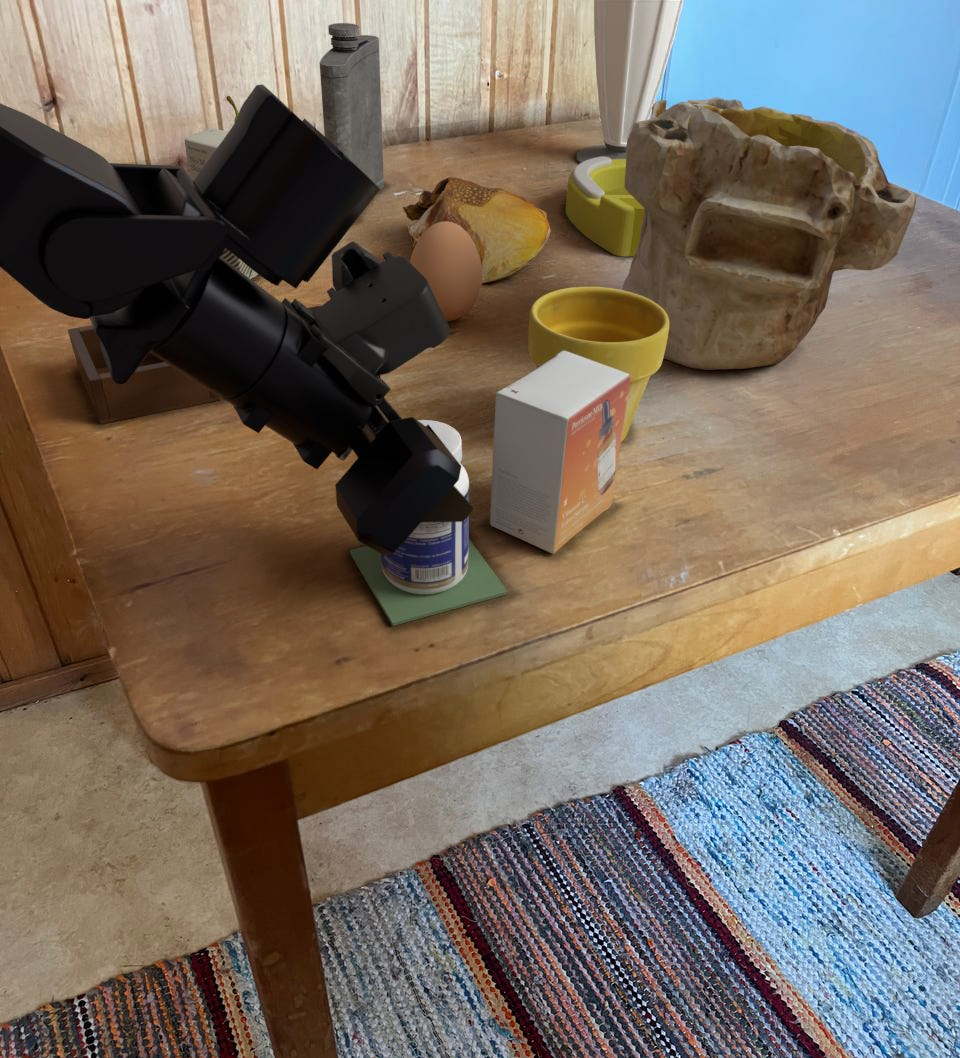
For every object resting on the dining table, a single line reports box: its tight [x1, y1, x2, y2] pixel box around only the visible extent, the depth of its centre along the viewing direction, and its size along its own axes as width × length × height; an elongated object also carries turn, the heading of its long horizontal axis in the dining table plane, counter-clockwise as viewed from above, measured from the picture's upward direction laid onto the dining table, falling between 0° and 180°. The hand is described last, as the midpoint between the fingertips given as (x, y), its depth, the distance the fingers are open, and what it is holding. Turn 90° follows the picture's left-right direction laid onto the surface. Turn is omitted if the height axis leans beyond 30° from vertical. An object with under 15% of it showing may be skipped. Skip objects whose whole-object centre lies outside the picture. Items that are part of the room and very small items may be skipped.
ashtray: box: [565, 156, 644, 257], centre depth 112 cm, size 16×21×5 cm
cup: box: [576, 0, 685, 164], centre depth 122 cm, size 12×12×22 cm
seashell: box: [402, 176, 551, 284], centre depth 104 cm, size 17×8×15 cm
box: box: [184, 127, 260, 280], centre depth 95 cm, size 5×4×13 cm
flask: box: [319, 22, 385, 191], centre depth 109 cm, size 4×14×18 cm, turn 168°
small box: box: [489, 351, 631, 555], centre depth 67 cm, size 8×6×10 cm
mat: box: [349, 538, 508, 627], centre depth 65 cm, size 8×8×1 cm
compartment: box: [67, 324, 221, 425], centre depth 81 cm, size 10×10×4 cm
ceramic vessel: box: [621, 96, 917, 371], centre depth 84 cm, size 23×24×25 cm
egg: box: [409, 221, 483, 322], centre depth 90 cm, size 7×7×9 cm
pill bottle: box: [381, 419, 470, 594], centre depth 61 cm, size 6×6×10 cm
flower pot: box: [527, 286, 670, 443], centre depth 76 cm, size 10×10×10 cm
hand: (446, 485), depth 61 cm, fingers open, 6 cm apart
